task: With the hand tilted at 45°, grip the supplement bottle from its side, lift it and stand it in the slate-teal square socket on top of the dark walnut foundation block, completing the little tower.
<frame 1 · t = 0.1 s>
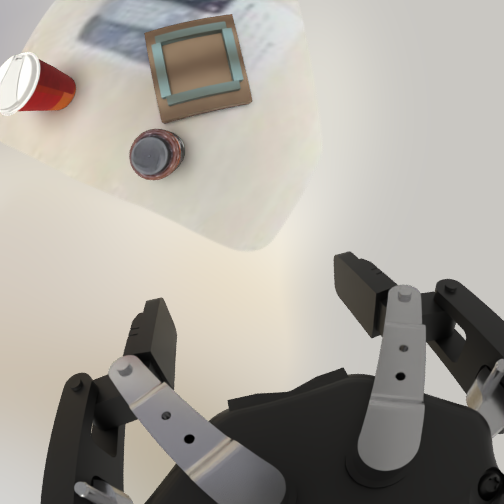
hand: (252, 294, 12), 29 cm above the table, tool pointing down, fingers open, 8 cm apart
walnut foundation: (197, 68, 31), on the table
supplement bottle: (164, 151, 36), on the table
paper cup: (61, 93, 28), on the table
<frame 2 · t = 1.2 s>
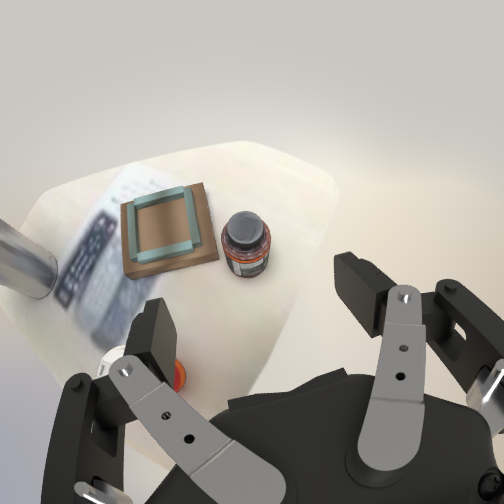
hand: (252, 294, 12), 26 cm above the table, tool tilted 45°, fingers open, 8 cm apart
walnut foundation: (168, 234, 42), on the table
supplement bottle: (247, 259, 41), on the table
paper cup: (167, 374, 35), on the table
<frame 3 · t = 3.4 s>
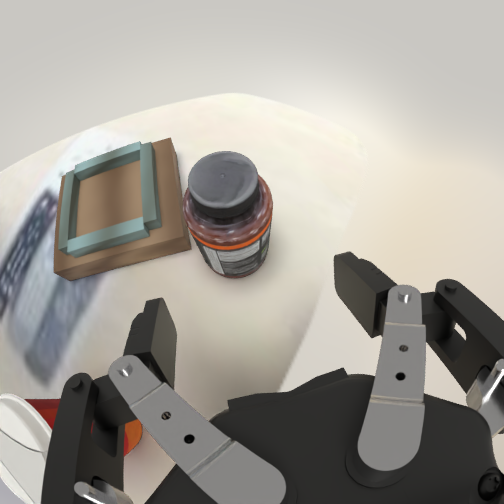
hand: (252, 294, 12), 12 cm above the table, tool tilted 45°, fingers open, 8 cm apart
walnut foundation: (121, 214, 27), on the table
supplement bottle: (235, 249, 26), on the table
paper cup: (117, 423, 20), on the table
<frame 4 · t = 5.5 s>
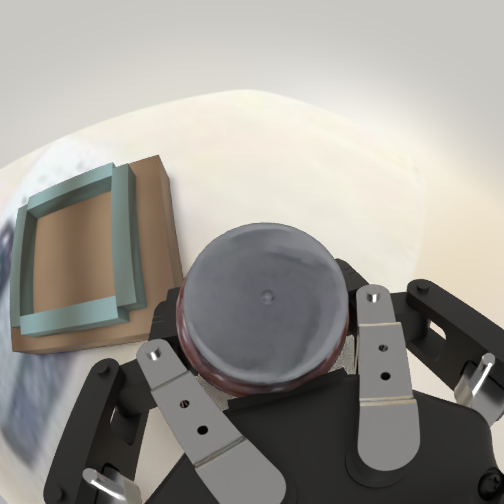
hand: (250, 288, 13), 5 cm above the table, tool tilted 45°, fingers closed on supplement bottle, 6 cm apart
walnut foundation: (93, 267, 18), on the table
supplement bottle: (258, 331, 17), on the table, touching gripper
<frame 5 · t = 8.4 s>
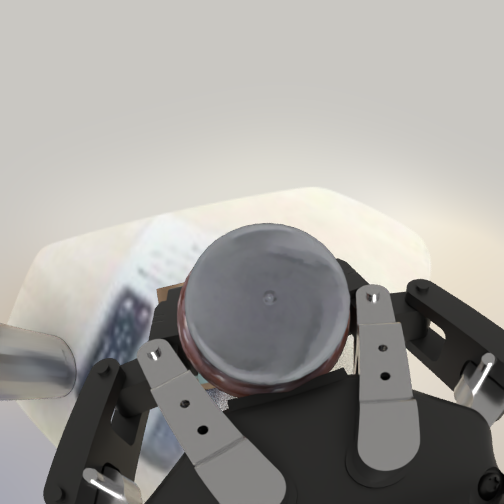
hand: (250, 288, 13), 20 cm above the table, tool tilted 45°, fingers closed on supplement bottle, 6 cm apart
walnut foundation: (230, 330, 31), on the table
supplement bottle: (259, 332, 17), point 14 cm above the table, touching gripper
when the fingers open (9 cm above the table, at t = 11.3 s): supplement bottle drops 1 cm, resting on walnut foundation.
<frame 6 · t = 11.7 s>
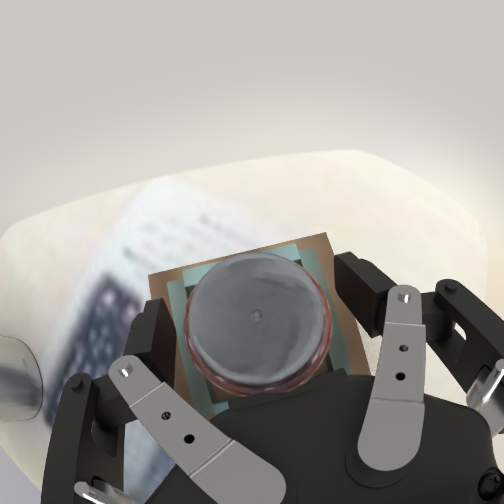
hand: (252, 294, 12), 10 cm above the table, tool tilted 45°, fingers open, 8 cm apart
walnut foundation: (257, 335, 21), on the table
supplement bottle: (259, 336, 18), point 3 cm above the table, touching walnut foundation
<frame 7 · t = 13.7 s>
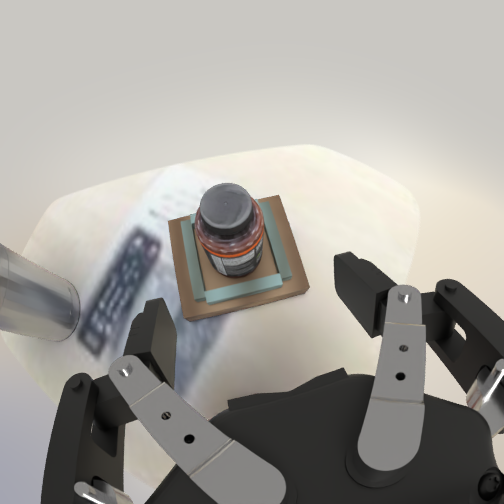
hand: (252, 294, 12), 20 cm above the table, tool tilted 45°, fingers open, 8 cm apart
walnut foundation: (235, 260, 34), on the table
supplement bottle: (235, 254, 31), point 3 cm above the table, touching walnut foundation
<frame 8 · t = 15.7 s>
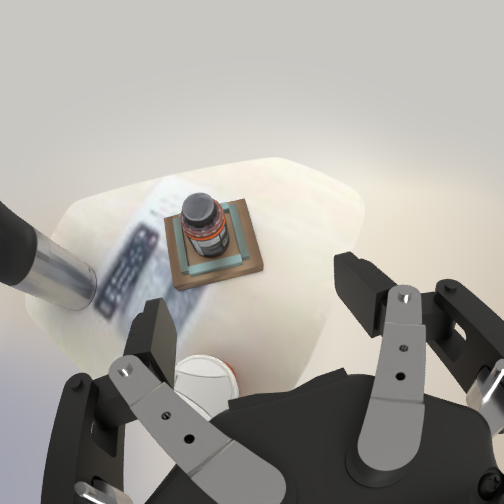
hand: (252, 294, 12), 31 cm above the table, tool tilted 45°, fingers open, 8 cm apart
walnut foundation: (212, 247, 46), on the table
supplement bottle: (211, 241, 43), point 3 cm above the table, touching walnut foundation
paper cup: (217, 378, 39), on the table
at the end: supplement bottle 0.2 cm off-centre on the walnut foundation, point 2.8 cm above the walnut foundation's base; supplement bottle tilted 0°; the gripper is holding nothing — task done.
